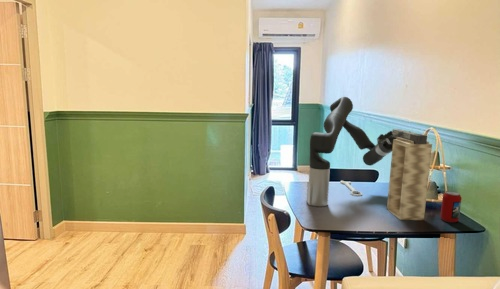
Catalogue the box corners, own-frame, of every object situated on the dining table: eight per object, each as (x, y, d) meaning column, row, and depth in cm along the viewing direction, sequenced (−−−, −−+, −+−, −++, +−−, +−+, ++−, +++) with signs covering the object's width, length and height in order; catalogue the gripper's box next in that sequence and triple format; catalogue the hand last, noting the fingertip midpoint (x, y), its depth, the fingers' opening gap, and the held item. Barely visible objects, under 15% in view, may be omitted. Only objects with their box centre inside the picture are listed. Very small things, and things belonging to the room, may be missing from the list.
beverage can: (458, 224, 143) (461, 196, 141) (439, 221, 146) (442, 193, 144) (458, 219, 148) (462, 192, 146) (440, 216, 152) (443, 189, 150)
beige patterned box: (400, 219, 146) (408, 141, 141) (386, 209, 159) (393, 136, 154) (423, 220, 147) (432, 141, 142) (408, 209, 159) (415, 137, 154)
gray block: (415, 144, 141) (416, 135, 140) (390, 136, 162) (391, 129, 162) (426, 144, 141) (427, 135, 140) (400, 136, 163) (401, 129, 162)
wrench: (349, 183, 206) (338, 183, 206) (349, 180, 205) (339, 179, 205) (363, 197, 178) (351, 196, 178) (363, 193, 178) (352, 192, 178)
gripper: (370, 138, 173) (384, 125, 158) (398, 139, 174) (415, 125, 159) (372, 152, 171) (386, 140, 156) (401, 153, 172) (417, 141, 156)
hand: (401, 133), depth 157 cm, fingers open, 8 cm apart
